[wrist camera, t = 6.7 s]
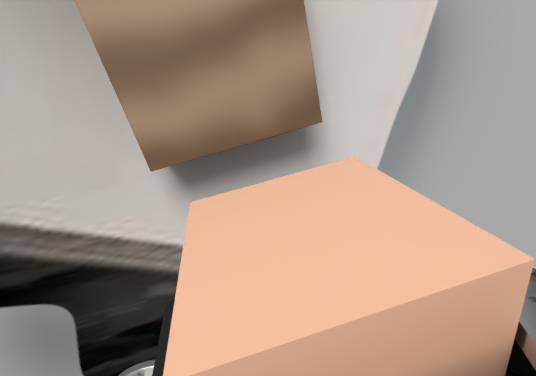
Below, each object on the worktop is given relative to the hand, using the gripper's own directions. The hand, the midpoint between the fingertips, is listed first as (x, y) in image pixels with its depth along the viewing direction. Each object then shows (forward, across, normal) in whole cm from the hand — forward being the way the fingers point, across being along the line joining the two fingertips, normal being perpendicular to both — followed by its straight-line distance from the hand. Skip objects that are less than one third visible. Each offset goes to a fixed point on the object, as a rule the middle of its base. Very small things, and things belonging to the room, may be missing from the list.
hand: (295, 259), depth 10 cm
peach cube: (+1, 0, 0) cm, 1 cm away
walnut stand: (+18, +1, -8) cm, 20 cm away
